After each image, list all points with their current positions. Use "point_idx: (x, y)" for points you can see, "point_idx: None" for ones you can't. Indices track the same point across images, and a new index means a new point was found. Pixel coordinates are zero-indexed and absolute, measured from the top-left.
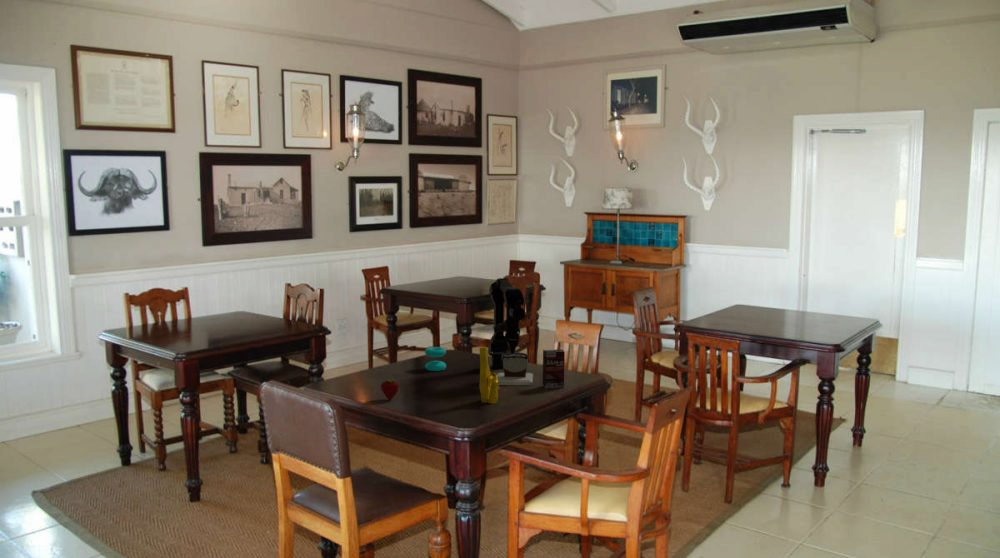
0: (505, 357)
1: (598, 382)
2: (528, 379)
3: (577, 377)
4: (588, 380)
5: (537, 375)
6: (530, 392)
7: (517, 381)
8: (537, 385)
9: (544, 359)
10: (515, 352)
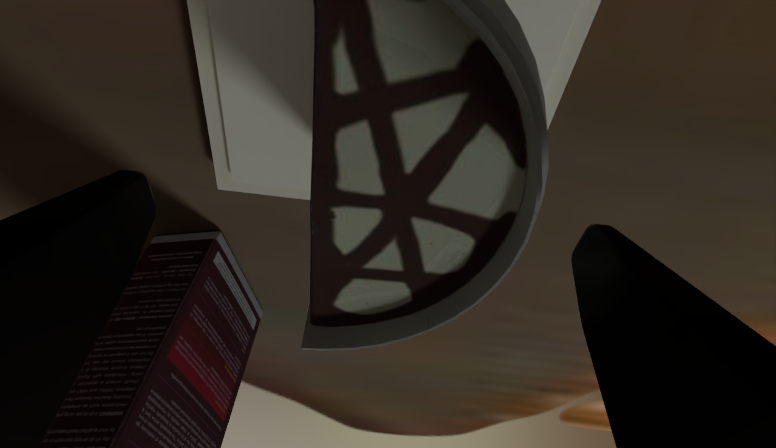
0: (316, 12)
1: (331, 417)
2: (263, 172)
3: (434, 380)
4: (369, 400)
5: (539, 236)
6: (2, 135)
7: (216, 70)
8: (236, 203)
9: (59, 430)
10: (522, 240)
